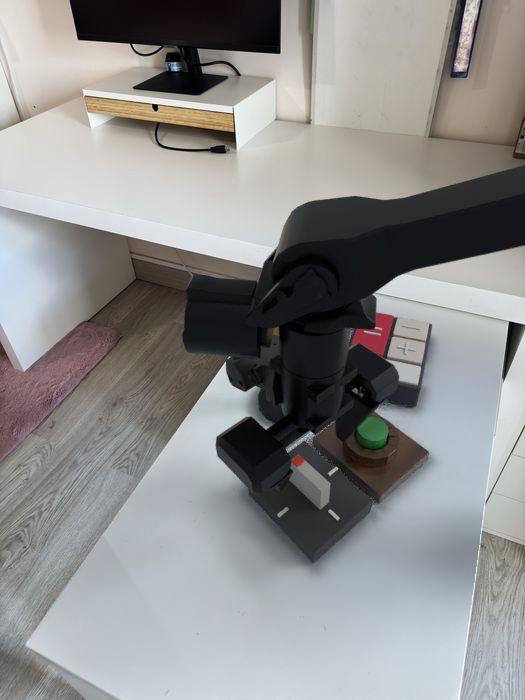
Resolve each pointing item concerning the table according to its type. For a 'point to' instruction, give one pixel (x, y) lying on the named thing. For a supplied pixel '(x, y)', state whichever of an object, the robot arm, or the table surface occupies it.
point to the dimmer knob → (310, 482)
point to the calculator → (399, 351)
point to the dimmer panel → (315, 507)
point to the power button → (372, 433)
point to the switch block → (373, 459)
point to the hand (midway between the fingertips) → (310, 462)
